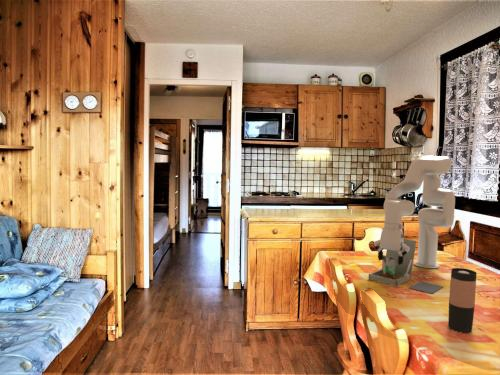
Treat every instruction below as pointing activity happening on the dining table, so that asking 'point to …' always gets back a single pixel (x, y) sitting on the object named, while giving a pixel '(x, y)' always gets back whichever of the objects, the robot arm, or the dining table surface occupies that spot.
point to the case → (398, 266)
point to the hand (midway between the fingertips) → (390, 262)
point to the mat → (426, 287)
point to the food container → (389, 267)
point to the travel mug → (462, 300)
